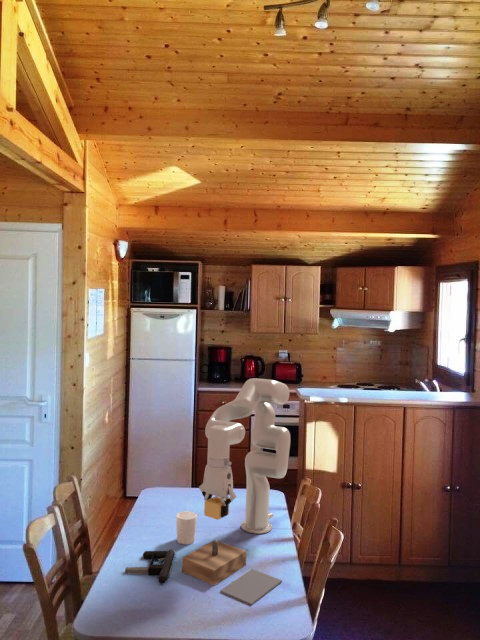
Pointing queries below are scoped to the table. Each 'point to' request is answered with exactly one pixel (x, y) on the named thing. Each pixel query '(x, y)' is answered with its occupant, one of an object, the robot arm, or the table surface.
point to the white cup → (186, 527)
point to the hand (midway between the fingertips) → (216, 513)
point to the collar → (214, 508)
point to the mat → (251, 587)
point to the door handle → (155, 565)
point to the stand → (214, 562)
